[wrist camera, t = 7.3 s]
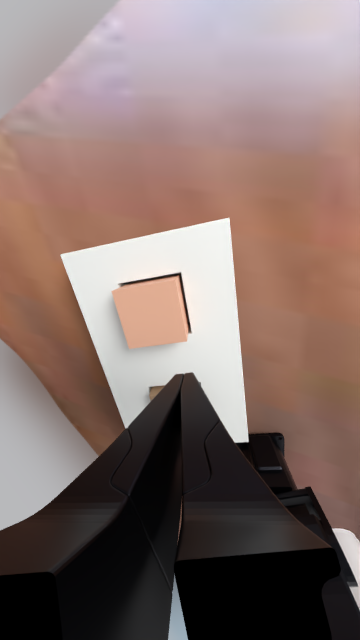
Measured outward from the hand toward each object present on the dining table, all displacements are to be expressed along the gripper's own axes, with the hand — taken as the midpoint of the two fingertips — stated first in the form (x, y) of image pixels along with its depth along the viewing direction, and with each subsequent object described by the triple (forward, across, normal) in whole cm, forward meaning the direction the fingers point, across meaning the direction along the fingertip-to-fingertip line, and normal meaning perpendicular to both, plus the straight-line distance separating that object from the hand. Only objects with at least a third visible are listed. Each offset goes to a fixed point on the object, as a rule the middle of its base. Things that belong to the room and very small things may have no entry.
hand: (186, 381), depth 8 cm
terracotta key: (+10, +3, -2) cm, 11 cm away
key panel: (+12, +3, +4) cm, 13 cm away
